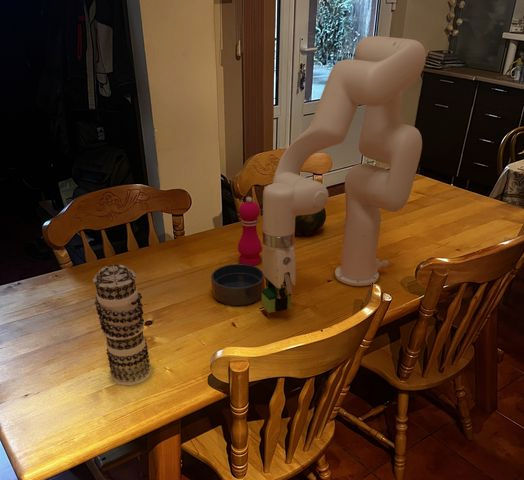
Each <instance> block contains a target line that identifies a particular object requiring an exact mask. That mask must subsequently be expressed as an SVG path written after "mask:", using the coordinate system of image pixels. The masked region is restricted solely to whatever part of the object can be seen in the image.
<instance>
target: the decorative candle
mask: <svg viewBox="0 0 524 480" xmlns="http://www.w3.org/2000/svg"><path fill="white" fill-rule="evenodd" d="M136 278H137V273H135V271H134V270H132V269H130V268H128V267H127V265H123V264H109V265H106V266H104V267H101V268H100V269H99V270H98V271H97V273H96V274H95V275H94V276H93V279H92V282H93V283H94V284H95V285H94V286H95V290H96V297H95V301H94V305H95V308H96V311H97V312H96V314H97V316H98V320H99V324H100V329H101V331H102V334H103V336H104V337H105V338H106V355H107V359H108V367H109V369H110V374H111V378H112V380H113V382H115V383H116V384H119V385H121V386H134V385H138V384H141V383H143V382H144V381H146V380H147V379H148V378H149V377H150V375H151V373H152V372H151V371H152V369H151V364H150V358H149V357H150V356H149V351H148V350H149V349H148V343H147V342H146V338H145V337H146V336H145V335H144V329H145V319H144V318H143V315H144V310H143V307H144V305H143V303H142V302H141V301H142V299H143V296H142V294H141V293H140V292H138V287H137V285H136V280H135V279H136Z"/></svg>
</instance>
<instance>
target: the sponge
mask: <svg viewBox="0 0 524 480" xmlns="http://www.w3.org/2000/svg"><path fill="white" fill-rule="evenodd" d="M284 290H285V289H284V288H282V289H280V292H282V291H284ZM275 297H277V292H276V287H271V288H268V287H266V288H264V289H262V298H261V307H263V308H264V309H265V310H266V311H267V313H269V314H270V313H274V312H275V313H276V311H275ZM291 308H292V294H290V295H289V297H288V304H287V310H288V309H291Z"/></svg>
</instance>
